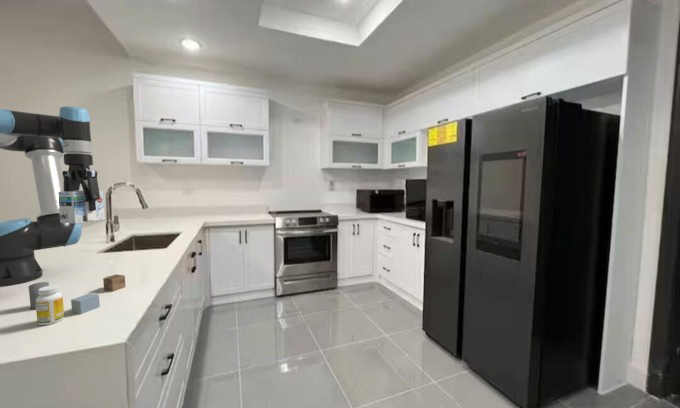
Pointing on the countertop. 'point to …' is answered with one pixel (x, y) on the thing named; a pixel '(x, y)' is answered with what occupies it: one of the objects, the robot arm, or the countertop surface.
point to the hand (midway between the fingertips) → (83, 219)
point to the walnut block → (114, 282)
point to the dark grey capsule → (35, 293)
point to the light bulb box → (77, 207)
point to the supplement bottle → (49, 305)
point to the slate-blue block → (85, 303)
